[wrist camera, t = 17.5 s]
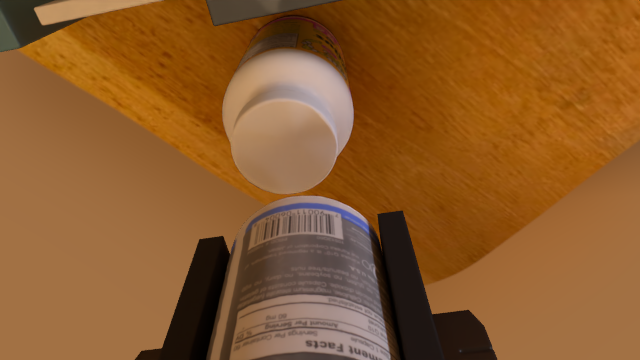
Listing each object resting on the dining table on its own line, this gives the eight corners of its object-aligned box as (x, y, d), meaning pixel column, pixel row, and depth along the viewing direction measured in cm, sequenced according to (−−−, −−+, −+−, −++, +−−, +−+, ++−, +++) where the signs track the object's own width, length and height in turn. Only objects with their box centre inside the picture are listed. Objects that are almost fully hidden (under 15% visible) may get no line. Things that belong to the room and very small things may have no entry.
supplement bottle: (354, 95, 31) (375, 195, 20) (266, 120, 32) (241, 228, 21) (328, -1, 28) (338, 56, 17) (231, 29, 29) (180, 102, 18)
